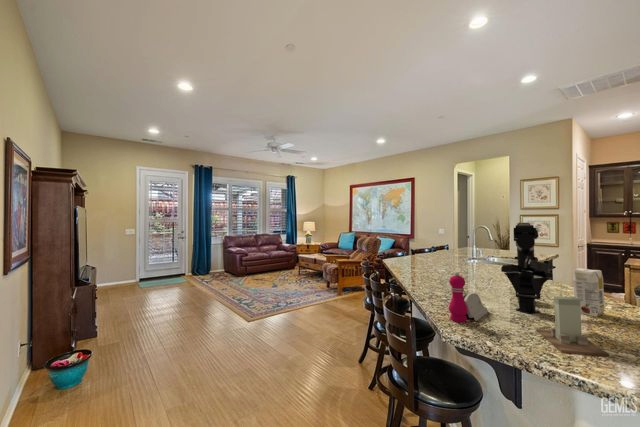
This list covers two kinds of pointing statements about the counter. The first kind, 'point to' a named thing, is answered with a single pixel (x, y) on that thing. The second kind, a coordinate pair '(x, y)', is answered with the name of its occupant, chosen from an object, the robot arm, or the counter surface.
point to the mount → (571, 343)
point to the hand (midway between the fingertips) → (527, 293)
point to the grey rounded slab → (474, 306)
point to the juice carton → (589, 291)
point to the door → (567, 317)
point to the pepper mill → (457, 299)
